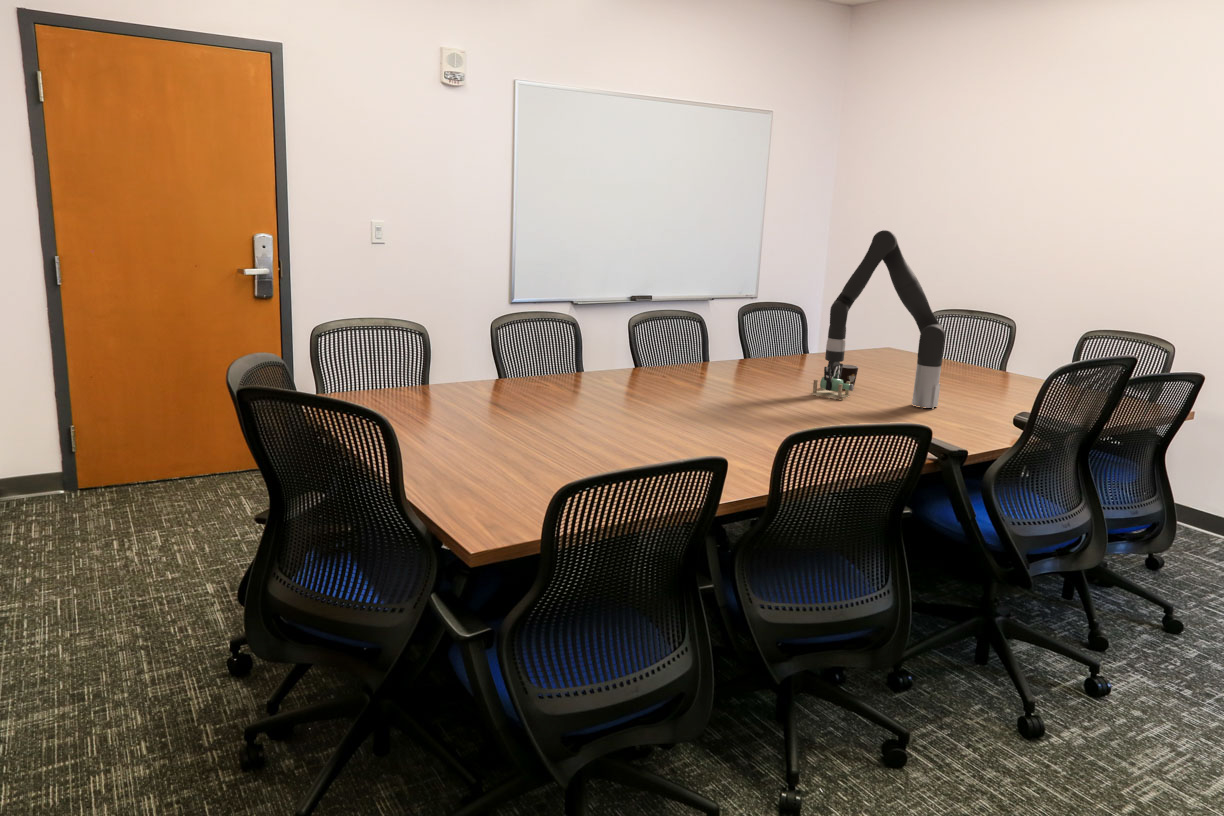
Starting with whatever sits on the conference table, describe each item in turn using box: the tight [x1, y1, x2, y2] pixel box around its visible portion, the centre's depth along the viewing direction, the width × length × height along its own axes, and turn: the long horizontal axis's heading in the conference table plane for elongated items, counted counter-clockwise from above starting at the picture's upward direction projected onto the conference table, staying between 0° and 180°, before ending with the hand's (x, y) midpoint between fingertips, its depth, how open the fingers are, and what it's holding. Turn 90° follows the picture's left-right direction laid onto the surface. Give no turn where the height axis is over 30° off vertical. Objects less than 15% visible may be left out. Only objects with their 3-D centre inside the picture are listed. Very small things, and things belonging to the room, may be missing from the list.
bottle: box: [819, 376, 855, 392], centre depth 362 cm, size 13×5×5 cm, turn 53°
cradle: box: [810, 379, 851, 400], centre depth 364 cm, size 13×10×6 cm
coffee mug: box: [839, 363, 859, 390], centre depth 380 cm, size 12×9×10 cm
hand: (831, 389), depth 364 cm, fingers closed on bottle, 5 cm apart
